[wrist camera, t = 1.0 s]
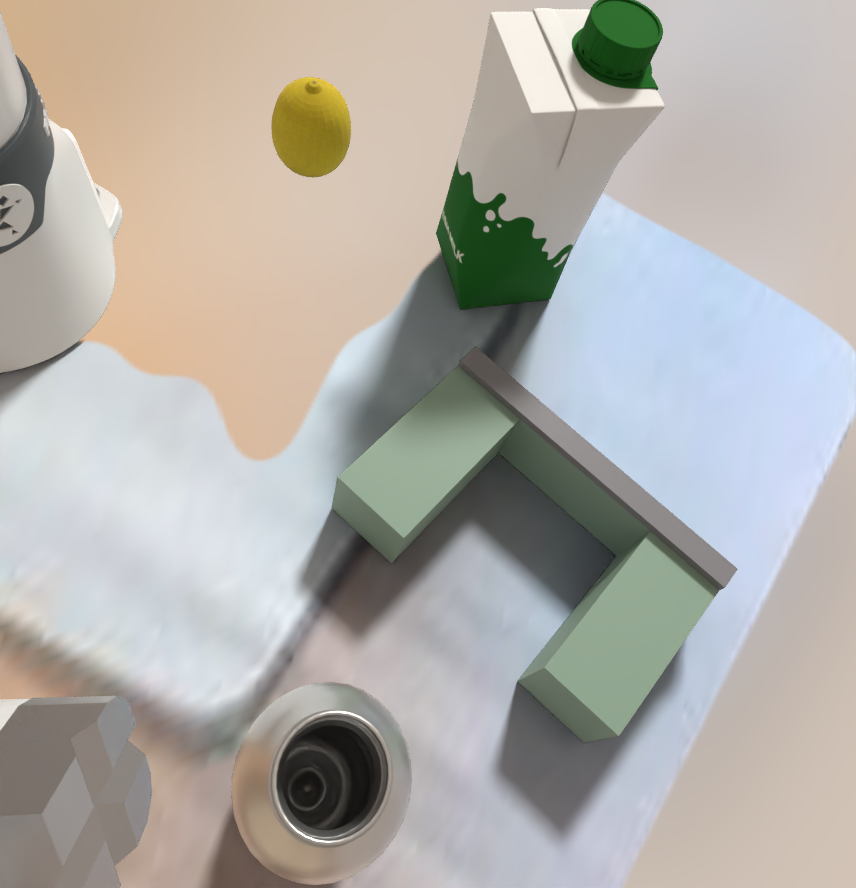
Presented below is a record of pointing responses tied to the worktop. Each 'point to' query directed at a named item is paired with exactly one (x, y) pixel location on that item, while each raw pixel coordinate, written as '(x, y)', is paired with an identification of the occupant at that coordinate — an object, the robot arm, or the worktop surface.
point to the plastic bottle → (321, 783)
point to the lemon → (311, 127)
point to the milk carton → (544, 143)
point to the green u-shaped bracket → (579, 494)
